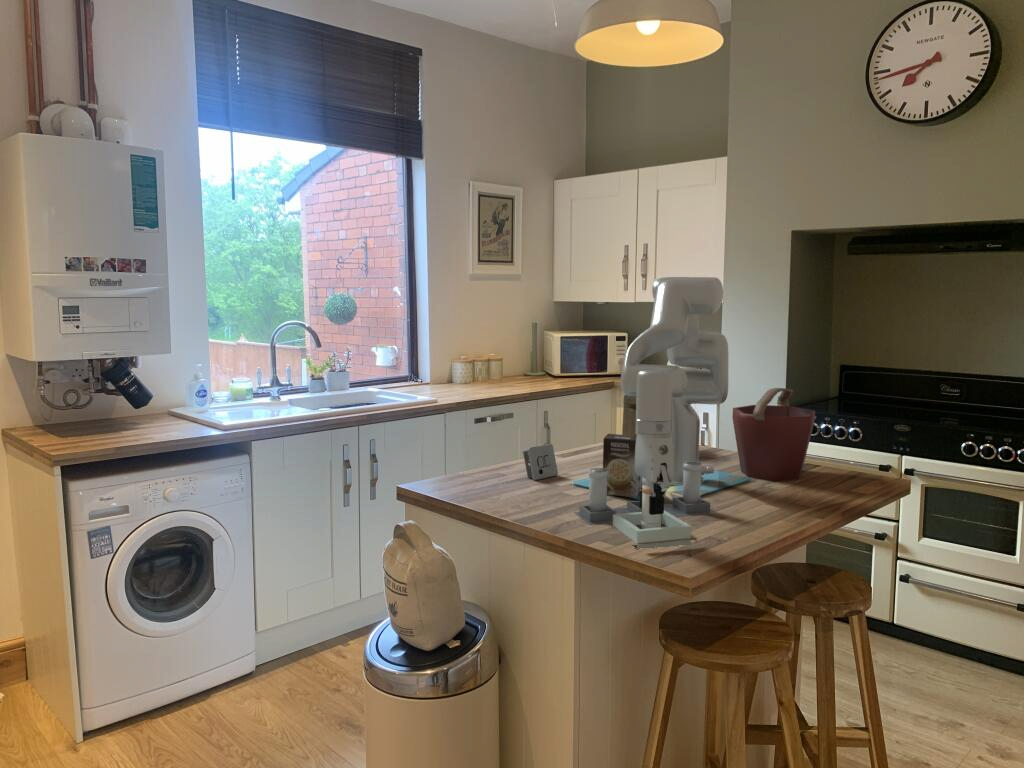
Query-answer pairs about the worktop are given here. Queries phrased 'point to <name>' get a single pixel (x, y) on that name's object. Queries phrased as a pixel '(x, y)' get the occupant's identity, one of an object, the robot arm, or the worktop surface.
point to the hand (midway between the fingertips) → (651, 510)
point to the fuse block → (633, 506)
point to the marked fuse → (647, 518)
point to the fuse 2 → (691, 482)
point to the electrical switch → (540, 462)
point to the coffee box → (620, 465)
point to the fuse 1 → (597, 489)
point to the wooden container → (629, 416)
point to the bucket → (772, 437)
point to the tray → (653, 530)
